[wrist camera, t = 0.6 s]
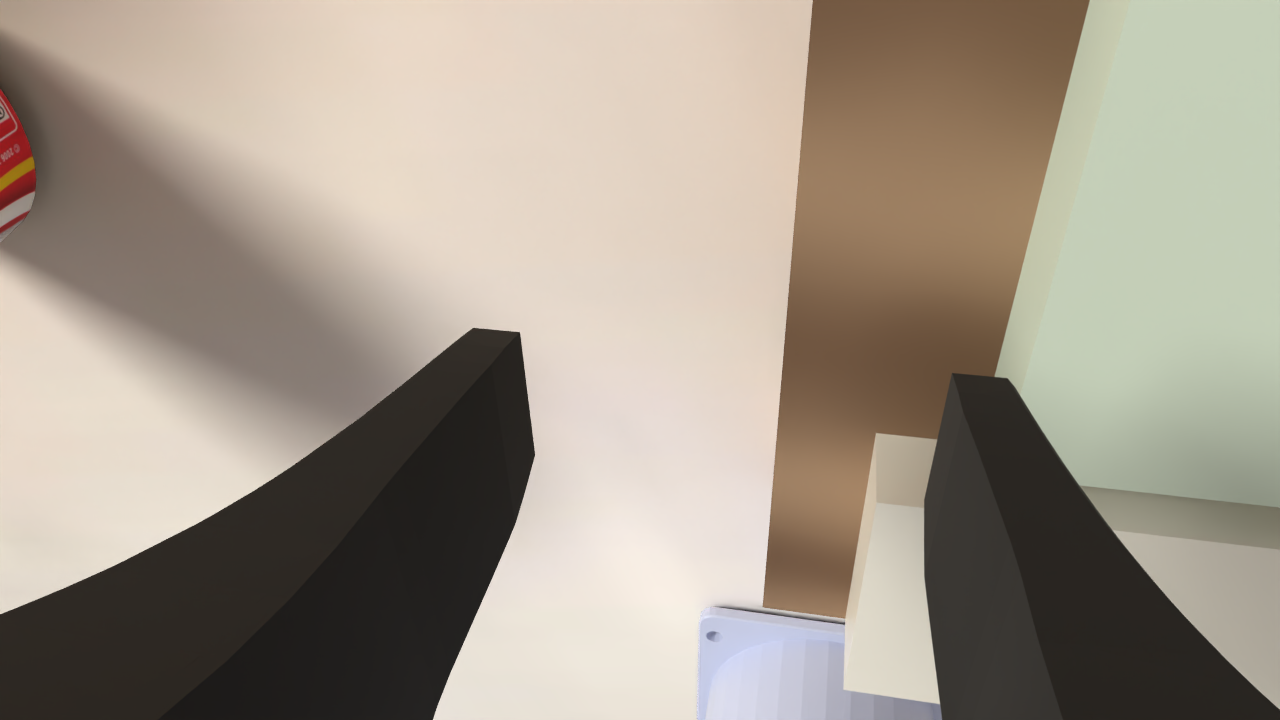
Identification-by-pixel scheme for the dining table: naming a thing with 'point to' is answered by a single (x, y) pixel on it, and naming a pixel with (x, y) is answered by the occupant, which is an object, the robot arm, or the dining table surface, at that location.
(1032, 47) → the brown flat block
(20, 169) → the soda can
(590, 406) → the dining table surface
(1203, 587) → the off-white flat block
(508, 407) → the robot arm
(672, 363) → the dining table surface
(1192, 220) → the pale green block
